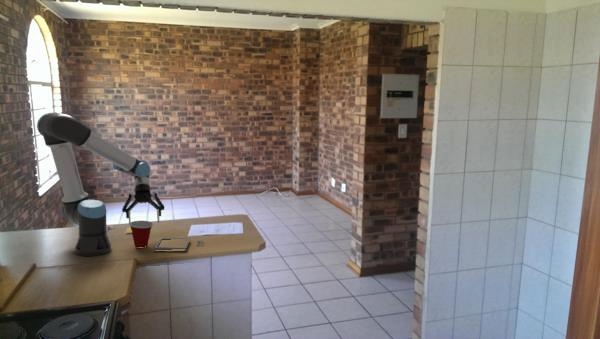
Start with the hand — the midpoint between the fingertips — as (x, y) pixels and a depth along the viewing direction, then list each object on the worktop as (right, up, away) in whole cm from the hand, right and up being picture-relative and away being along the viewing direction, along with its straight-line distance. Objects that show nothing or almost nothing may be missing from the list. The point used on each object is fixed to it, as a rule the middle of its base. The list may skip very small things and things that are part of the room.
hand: (144, 222), depth 211 cm
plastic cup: (0, -11, -4) cm, 12 cm away
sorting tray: (+15, -12, -2) cm, 19 cm away
